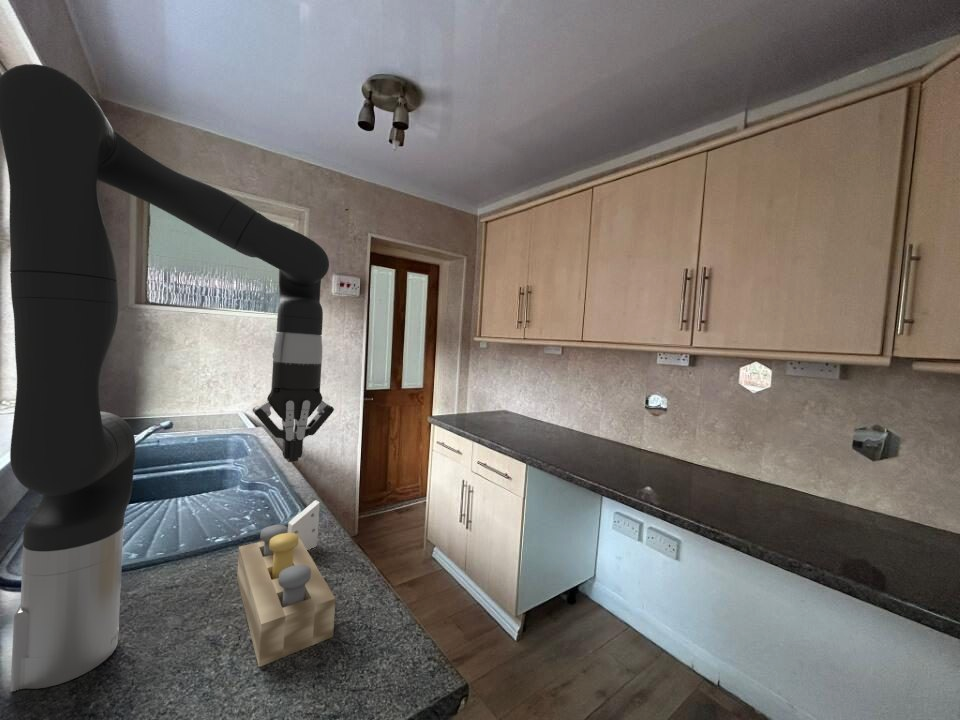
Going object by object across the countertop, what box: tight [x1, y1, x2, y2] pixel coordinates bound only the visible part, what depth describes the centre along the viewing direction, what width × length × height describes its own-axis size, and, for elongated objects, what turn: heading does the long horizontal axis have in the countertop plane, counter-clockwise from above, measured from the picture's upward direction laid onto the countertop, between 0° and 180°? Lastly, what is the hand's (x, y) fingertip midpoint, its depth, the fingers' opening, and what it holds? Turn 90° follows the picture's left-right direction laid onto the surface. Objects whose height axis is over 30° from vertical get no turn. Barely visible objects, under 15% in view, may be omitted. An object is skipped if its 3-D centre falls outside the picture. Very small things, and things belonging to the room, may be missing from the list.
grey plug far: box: [259, 524, 288, 557], centre depth 71 cm, size 4×4×9 cm
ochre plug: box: [269, 532, 299, 580], centre depth 64 cm, size 4×4×9 cm
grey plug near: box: [279, 565, 311, 608], centre depth 58 cm, size 4×4×9 cm
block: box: [236, 538, 336, 668], centre depth 64 cm, size 10×24×6 cm, turn 39°
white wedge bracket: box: [287, 499, 321, 550], centre depth 83 cm, size 4×10×9 cm, turn 141°
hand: (292, 460), depth 65 cm, fingers closed
